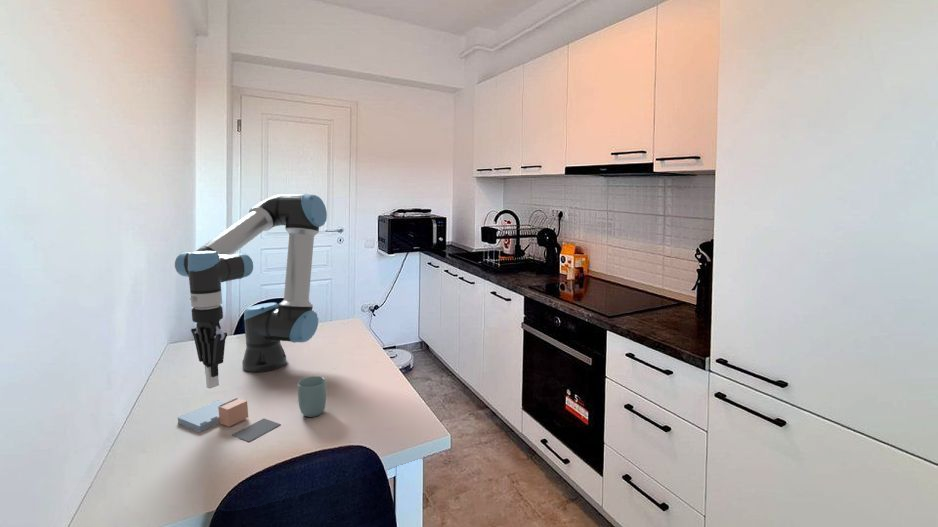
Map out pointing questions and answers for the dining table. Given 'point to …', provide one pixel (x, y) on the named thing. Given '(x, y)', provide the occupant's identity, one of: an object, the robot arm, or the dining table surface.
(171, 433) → the dining table surface
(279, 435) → the dining table surface
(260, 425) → the mat
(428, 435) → the dining table surface
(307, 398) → the cup
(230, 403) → the stub
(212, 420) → the board
